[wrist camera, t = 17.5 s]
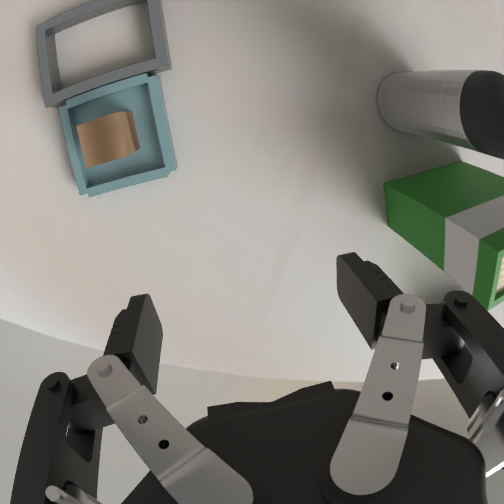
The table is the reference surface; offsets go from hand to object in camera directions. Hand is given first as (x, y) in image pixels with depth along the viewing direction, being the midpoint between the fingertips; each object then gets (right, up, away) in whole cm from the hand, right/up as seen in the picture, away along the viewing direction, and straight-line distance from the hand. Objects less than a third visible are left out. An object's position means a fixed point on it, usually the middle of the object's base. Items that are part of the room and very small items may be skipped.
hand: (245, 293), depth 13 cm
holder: (-19, +28, +17) cm, 38 cm away
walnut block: (-17, +16, +22) cm, 32 cm away
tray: (-17, +17, +23) cm, 33 cm away
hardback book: (+30, +12, +33) cm, 46 cm away
